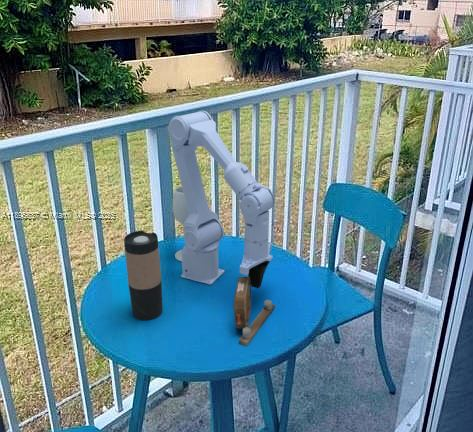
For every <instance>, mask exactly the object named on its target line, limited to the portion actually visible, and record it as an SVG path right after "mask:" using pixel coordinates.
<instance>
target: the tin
mask: <svg viewBox="0 0 473 432" xmlns="http://www.w3.org/2000/svg"><path fill="white" fill-rule="evenodd" d="M233 300H234V301H233V313H234V321H235V324H234V325H235V326H234V327H235V328H236V329H243V328H245V327H249V322H250V315H251V310H252V309H251V308H252V286H251V281H250V277H249V276H248V275H247V276H239V277H238V279H237V282H236V288H235V292H234V298H233Z"/></svg>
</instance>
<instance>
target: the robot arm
mask: <svg viewBox="0 0 473 432" xmlns="http://www.w3.org/2000/svg"><path fill="white" fill-rule="evenodd" d="M167 131H168V135H169V139H170V140H169V141H170V144H171V149H172V153H173V157H174V161H175V165H176V168H177V172H178V177H179V181H180V184H181V185H180V186H182V189H183V193H184V197H185V200H186V204H187V208H188V212H189V215H188V217H187V219H186V220H185V222H184V224H183V225H182V228H183V241H184V243H185V244H184V246H183V248H182V249H183V251H182V261H181V266H182V268H181V269H182V274H181V275H180V276H181V278H183V279H187V280H191V281H194V282H195V281H196V282H198V283H202V284H206V285H210V286H211V285H213V284H214V283H215V282H216V281H217V280H218V279H219V278H220V277H221V276H223V274H224V273H225V270H224V269H222V268H219V245H220V244H221V243H220V240H221V239H223V237H224V234H225V230H224V227H223V224H222V223H221V222H220V220H219V216H218V213H216V212H214V211H213V210H211V209H210V207H209V202H208V199H207V195H206V191H205V187H204V183H203V179H202V175H201V171H200V167H199V162H198V159H197V154H196V150H197V149H198V147H203V148H204V149H205V150H206V151H207V152H208V153H209V155H210V156H211V157H212V158H213V159H214V160H215V162H216V163H218V165H219V166H220V168H221V169H222V170H223V171H224V172H223V179H224V180H225V182H226V183H227V185H228V186H229V187H230V189H231V190H232V191H233V192H234V194H235V195H236V196H237V197H238V200H239V201H240V202H238V203H239V204H238V206H239V210H240V211H241V213H242V217H243V219H242V220H244V252H243V256H242V261H241V264H240V265H239V274H242V275H244V276H247V277H248V276H249V277H250V281H251V288H256V289H259V288H260V287H261V286H262V283H263V279H264V275H265V272H266V269H267V268H268V266H269V264H270V261H272V260H273V255H272V254H270V252H271V250H272V242H270V241H269V240H270V239H269V237H270V233H269V232H270V210H271V209H272V208H273V207H274V206H275V205H274V204H275V202H276V201H275V196H274V194H273V192H272V190H271V189H270V188H269V187H268V186H265V185H263V184H262V183H260V182H258V181H257V180H256V179H255V177H254V176H253V175H252V173H251V172H250V169H249V168H248V166H247V165H245V164H244V163H243V162H238V161H236V159H235V158H234V157H233V155H232V154H231V151H230V150H229V149H228V147H227V145H226V144H225V143H224V141H223V140H222V138H221V137H220V134H219V133H218V131H217V123H216V121H214V119H212V115H210V113H209V112H207V111H206V110H199V111H196V112H192V113H187V114H183V115H175V116H174V117H172V118H171V120H170V121H169V123H168V125H167Z"/></svg>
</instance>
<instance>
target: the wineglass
mask: <svg viewBox="0 0 473 432" xmlns="http://www.w3.org/2000/svg"><path fill="white" fill-rule="evenodd" d="M172 213H173V216H174V218H175V221H177V222H178V223H179V224H181V225H182V226H183V224H184V222H185V220H186V219H187V217H188V215H189V212H188V208H187V204H186V200H185V197H184V193H183V189H182V185H180V186H177V187H175V188H174V192H173V196H172ZM182 251H183V248H182V249H180V250H178V251H177V252H176V253H175V254H174V256H175V257H174V258H175V259H176V260H177V261H180V262H182Z"/></svg>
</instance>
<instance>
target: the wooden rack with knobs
mask: <svg viewBox="0 0 473 432" xmlns="http://www.w3.org/2000/svg"><path fill="white" fill-rule="evenodd" d="M263 302H264V303H263V304H264V306H263V308H262V309H261V311H260V312H259V313H258V314H257V316H256V317H255V319H254V320H253V321H252V322H251V324H250V325H248V327H245V328H242V335H241V336H240V338H239V340H238V344H240V345H243V346H245V347H248V345H249V344H250V343H251V342H252V339H254V337H255V336H256V335H257V333H258V332H259V330H260V329H261V327H262V326H263V324H264V323H265V322H266V321H267V319H268V318H269V317H270V315H271V314H272V312H273V311H274V310H275V309H274V308H276V305H275V304H273V301H272V300H270V299H265V300H264V301H263Z"/></svg>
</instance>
